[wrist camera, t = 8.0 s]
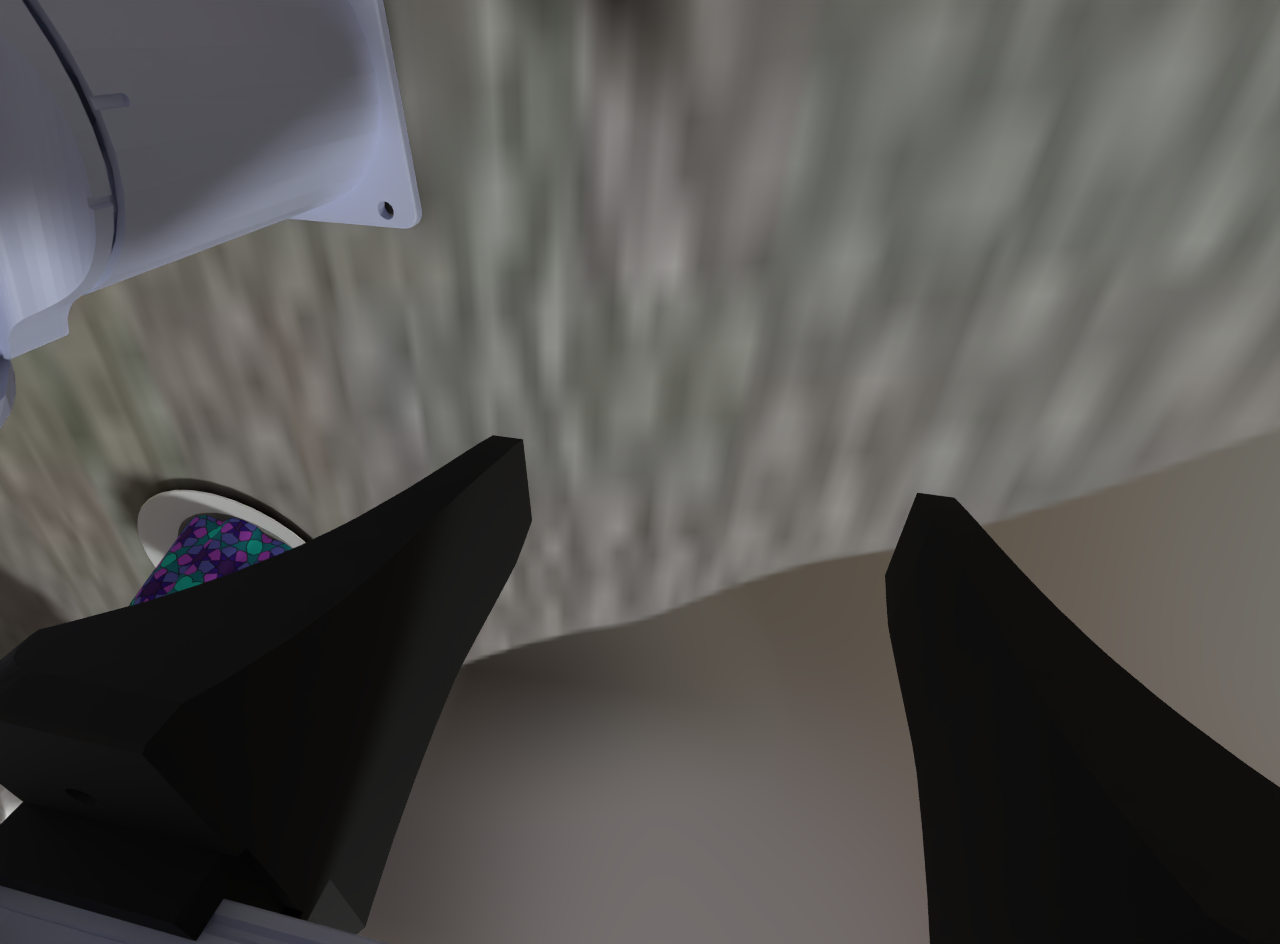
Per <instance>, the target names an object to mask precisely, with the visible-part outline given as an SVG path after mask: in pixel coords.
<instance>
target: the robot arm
mask: <svg viewBox="0 0 1280 944" xmlns="http://www.w3.org/2000/svg"><path fill="white" fill-rule="evenodd" d="M385 202H388V203H389V204H390V205H391V206H392V208H393V210H394V216H391V215H390V214H389V213H388V212H387V211H386V209H385ZM421 217H422V209H421V204H420V198H419V193H418V188H417V182H416V177H415V171H414V166H413V160H412V155H411V150H410V144H409V139H408V133H407V128H406V122H405V117H404V111H403V106H402V101H401V95H400V90H399V84H398V79H397V73H396V68H395V62H394V57H393V52H392V46H391V41H390V35H389V30H388V24H387V19H386V13H385V8H384V3H383V0H0V429H1V427H2V426H3V424H4V423H5V421H6V419H7V418H8V416H9V415H10V412H11V409H12V406H13V402H14V399H15V395H16V384H15V374H14V370H13V367H12V364H11V360H10V359H12V358H14V357H17V356H19V355H22V354H24V353H26V352H29V351H31V350H33V349H36V348H38V347H40V346H43V345H45V344H48V343H50V342H52V341H55V340H57V339H59V338H62V337H64V336H66V335H68V334H69V329H68V313H69V310H70V307H71V305H72V304H73V302H74V301H76V300H77V299H78V298H79V297H80V296H82V295H85V294H88V293H91V292H94V291H96V290H99V289H102V288H104V287H107V286H110V285H112V284H115V283H118V282H120V281H123V280H126V279H128V278H131V277H134V276H136V275H139V274H142V273H144V272H147V271H150V270H152V269H155V268H158V267H160V266H163V265H166V264H168V263H171V262H174V261H176V260H179V259H181V258H184V257H187V256H189V255H192V254H195V253H197V252H200V251H203V250H205V249H208V248H211V247H213V246H216V245H219V244H221V243H224V242H227V241H229V240H232V239H235V238H237V237H240V236H243V235H245V234H248V233H251V232H253V231H256V230H259V229H261V228H264V227H267V226H269V225H272V224H275V223H277V222H280V221H283V220H285V219H299V220H311V221H322V222H334V223H346V224H358V225H370V226H381V227H393V228H411V227H413V226H415V225H416V224H418V223H419V222H420V220H421ZM531 522H532V516H531V507H530V498H529V489H528V480H527V471H526V462H525V453H524V445H523V439H516V438H509V437H501V436H494V435H493V436H491V437H489V438H487V439H486V440H484V441H482V442H481V443H479V444H477V445H476V446H474V447H473V448H471V449H469V450H468V451H466V452H465V453H463V454H462V455H460V456H458V457H457V458H455V459H454V460H452V461H451V462H449V463H448V464H446V465H444V466H443V467H441V468H440V469H438V470H437V471H435V472H433V473H432V474H430V475H429V476H427V477H425V478H424V479H422V480H421V481H419V482H417V483H416V484H414V485H413V486H411V487H410V488H408V489H406V490H404V491H403V492H401V493H399V494H397V495H396V496H394V497H392V498H390V499H389V500H387V501H385V502H383V503H382V504H380V505H378V506H376V507H375V508H373V509H371V510H369V511H368V512H366V513H364V514H362V515H361V516H359V517H357V518H355V519H353V520H351V521H349V522H348V523H346V524H344V525H342V526H340V527H338V528H336V529H334V530H332V531H330V532H327V533H325V534H323V535H321V536H319V537H317V538H315V539H312V540H310V541H308V542H306V543H304V544H302V545H300V546H297V547H295V548H293V549H290V550H288V551H286V552H283V553H281V554H278V555H276V556H273V557H270V558H268V559H265V560H263V561H260V562H258V563H255V564H253V565H250V566H248V567H245V568H243V569H240V570H238V571H235V572H233V573H230V574H227V575H225V576H222V577H219V578H216V579H213V580H210V581H207V582H205V583H202V584H199V585H196V586H193V587H190V588H187V589H184V590H181V591H177V592H174V593H171V594H168V595H165V596H162V597H158V598H155V599H152V600H149V601H145V602H142V603H138V604H135V605H132V606H128V607H124V608H121V609H117V610H113V611H109V612H106V613H102V614H98V615H94V616H90V617H87V618H83V619H79V620H75V621H72V622H68V623H64V624H60V625H56V626H52V627H48V628H44V629H40V630H38V631H36V632H35V633H33V634H32V635H31V636H29V637H28V638H27V639H26V640H24V641H23V642H22V643H21V644H19V645H18V646H17V647H16V648H15V649H13V650H12V651H11V652H10V653H8V654H7V655H6V656H5V657H4V658H2V659H1V660H0V784H1V785H2V786H3V787H5V788H6V789H7V790H8V791H10V792H11V793H12V794H13V795H15V796H16V797H17V798H19V799H20V800H21V801H23V802H22V803H21V804H20V805H19V806H18V807H17V808H16V809H15V810H14V811H13V812H12V813H11V814H10V815H9V816H8V817H7V818H6V819H5V820H4V821H3V822H2V823H0V944H389V943H386V942H382V941H378V940H375V939H371V938H367V937H363V936H360V935H356V934H357V933H359V932H360V931H361V930H362V929H363V928H365V926H366V923H367V919H368V916H369V913H370V910H371V907H372V903H373V900H374V897H375V894H376V891H377V888H378V885H379V882H380V879H381V876H382V873H383V870H384V867H385V864H386V861H387V858H388V855H389V852H390V849H391V845H392V842H393V839H394V836H395V834H396V831H397V828H398V825H399V823H400V820H401V817H402V814H403V811H404V808H405V806H406V803H407V800H408V797H409V794H410V792H411V789H412V786H413V783H414V780H415V778H416V775H417V772H418V770H419V767H420V765H421V762H422V760H423V757H424V754H425V752H426V749H427V747H428V744H429V742H430V739H431V736H432V734H433V731H434V729H435V726H436V724H437V721H438V719H439V717H440V714H441V712H442V709H443V707H444V704H445V702H446V700H447V697H448V694H449V692H450V690H451V688H452V685H453V683H454V680H455V678H456V676H457V674H458V672H459V670H460V668H461V666H462V664H463V662H464V660H465V658H466V656H467V654H468V652H469V650H470V649H471V647H472V645H473V643H474V641H475V639H476V637H477V636H478V634H479V632H480V630H481V628H482V626H483V625H484V623H485V621H486V619H487V617H488V615H489V613H490V612H491V610H492V608H493V606H494V604H495V602H496V601H497V599H498V597H499V595H500V593H501V591H502V589H503V587H504V586H505V584H506V582H507V580H508V578H509V576H510V574H511V572H512V570H513V568H514V567H515V565H516V562H517V560H518V557H519V554H520V552H521V549H522V547H523V544H524V541H525V539H526V536H527V533H528V530H529V527H530V525H531ZM885 582H886V602H887V615H888V627H889V633H890V638H891V643H892V648H893V653H894V658H895V663H896V668H897V673H898V678H899V683H900V688H901V692H902V697H903V702H904V706H905V712H906V716H907V722H908V726H909V731H910V736H911V741H912V746H913V752H914V758H915V765H916V771H917V780H918V790H919V800H920V811H921V821H922V830H923V845H924V856H925V871H926V883H927V897H928V915H929V934H930V944H1280V787H1278V786H1277V785H1276V784H1274V783H1273V782H1271V781H1270V780H1268V779H1267V778H1265V777H1264V776H1263V775H1261V774H1260V773H1258V772H1257V771H1255V770H1254V769H1253V768H1251V767H1250V766H1248V765H1247V764H1245V763H1244V762H1243V761H1241V760H1240V759H1239V758H1237V757H1236V756H1234V755H1233V754H1232V753H1231V752H1229V751H1228V750H1226V749H1225V748H1224V747H1222V746H1221V745H1220V744H1218V743H1217V742H1216V741H1214V740H1213V739H1212V738H1210V737H1209V736H1208V735H1206V734H1205V733H1204V732H1202V731H1201V730H1200V729H1198V728H1197V727H1195V726H1194V725H1193V724H1191V723H1190V722H1189V721H1187V720H1186V719H1185V718H1184V717H1182V716H1181V715H1180V714H1178V713H1177V712H1176V711H1175V710H1173V709H1172V708H1171V707H1170V706H1168V705H1167V704H1166V703H1164V702H1163V701H1162V700H1161V699H1159V698H1158V697H1157V696H1156V695H1155V694H1153V693H1152V692H1151V691H1150V690H1149V689H1147V688H1146V687H1145V686H1144V685H1143V684H1141V683H1140V682H1139V681H1138V680H1137V679H1135V678H1134V677H1133V676H1132V675H1131V674H1129V673H1128V672H1127V671H1126V670H1125V669H1124V668H1122V667H1121V666H1120V665H1119V664H1118V663H1116V662H1115V661H1114V660H1113V659H1112V658H1111V657H1109V656H1108V655H1107V654H1106V653H1105V652H1104V651H1103V650H1102V649H1101V648H1099V647H1098V646H1097V645H1096V644H1095V643H1094V642H1093V641H1091V639H1090V638H1088V637H1087V636H1086V635H1085V634H1084V633H1083V632H1082V631H1081V630H1080V629H1079V628H1078V627H1077V626H1076V625H1075V624H1074V623H1073V622H1072V621H1071V620H1070V619H1068V617H1067V616H1065V615H1064V614H1063V613H1062V612H1061V611H1060V610H1059V609H1058V608H1057V607H1056V606H1055V605H1054V604H1053V603H1052V602H1051V601H1050V600H1049V599H1048V598H1047V597H1046V596H1045V595H1044V594H1043V593H1042V592H1041V591H1040V590H1039V589H1038V588H1037V587H1036V585H1035V584H1033V582H1031V580H1030V579H1029V578H1028V577H1027V576H1026V575H1025V574H1024V573H1023V572H1022V571H1021V570H1020V569H1019V568H1018V567H1017V565H1016V564H1015V563H1014V562H1013V561H1012V560H1011V559H1010V558H1009V557H1008V556H1007V555H1006V553H1005V552H1004V551H1003V550H1002V549H1001V548H1000V547H999V546H998V545H997V544H996V543H995V541H994V540H993V539H992V538H991V537H990V536H989V535H988V534H987V532H986V531H985V530H984V529H983V528H982V527H981V526H980V525H979V524H978V522H977V521H976V520H975V519H974V518H973V517H972V516H971V515H970V514H969V513H968V511H967V510H966V509H965V508H964V507H963V506H962V505H961V504H960V503H959V502H958V501H957V500H956V499H955V498H952V497H945V496H937V495H930V494H923V493H917V495H916V497H915V500H914V502H913V505H912V508H911V510H910V513H909V515H908V518H907V520H906V523H905V525H904V528H903V531H902V533H901V536H900V538H899V541H898V543H897V546H896V549H895V551H894V554H893V556H892V559H891V561H890V564H889V567H888V569H887V572H886V574H885Z"/></svg>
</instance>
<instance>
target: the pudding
mask: <svg viewBox="0 0 1280 944" xmlns="http://www.w3.org/2000/svg"><path fill="white" fill-rule="evenodd" d="M200 513H220V514H226V515H231V516H235V517H238V518H241V519H244V520H247V521H249V522H252V523H254V524H256V525H259V526H260V527H262V528H264V529H266V530H268V531H270V532H272V533H273V534H275V535H276V536H278V537H279V538H281V539H283V540H284V541H285V542H287V543H288V544H289V545H291V546H292V547H293V548H295V547H297V546H300V545H302V544H304V543H306V542H305V541H303V540H302V539H301V538H300V537H299V536H297V535H296V534H295V533H294V532H292V531H291V530H289V529H288V528H286V527H284V526H283V525H281V524H280V523H278V522H277V521H275V520H274V519H272V518H270V517H268V516H266V515H265V514H263V513H261V512H259V511H257V510H255V509H253V508H251V507H249V506H246V505H244V504H242V503H239V502H237V501H234V500H232V499H229V498H225V497H222V496H218V495H215V494H212V493H206V492H200V491H194V490H172V491H167V492H162V493H159V494H157V495H155V496H153V497H151V498H149V499H148V500H147V501H146V502H145V503H144V504H143V506H142V507H141V510H140V512H139V515H138V527H137V528H138V532H139V536H140V541H141V543H142V545H143V547H144V549H145V551H146V554H147V555H148V557H149V558H150V560H151V561H152V563H153V564H154V566H155V567H156V568H155V570H154V571H153V572H152V574H151V575H150V577H149V578H148V579H147V581H146V582H145V584H144V585H143V586H142V588H141V589H140V591H139V592H138V593H137V595H136V596H135V597H134V599H133V600H132V602H131V603H130V605H129V606H132V605H135V604H138V603H142V602H145V601H149V600H152V599H155V598H158V597H162V596H165V595H168V594H171V593H174V592H177V591H181V590H184V589H187V588H190V587H193V586H196V585H199V584H202V583H205V582H207V581H210V580H213V579H216V578H219V577H222V576H225V575H227V574H230V573H233V572H235V571H238V570H240V569H243V568H245V567H248V566H250V565H253V564H255V563H258V562H260V561H263V560H265V559H268V558H270V557H273V556H276V555H278V554H281V553H283V552H286V551H288V550H290V549H292V548H291V547H289V546H288V545H286V544H285V543H283V542H280V541H276V540H272V539H269V538H268V537H267V536H266V535H265V534H264V533H263V532H262V531H261V530H260V529H259V528H258V527H256V526H254V525H252V524H250V523H248V522H246V521H244V520H239V519H235V518H229V519H227V520H225V521H223V522H221V521H219V520H217V519H215V518H212V517H210V516H208V515H202V516H196V517H194V518H193V519H192V520H190V522H189V523H188V524H187V526H186V527H185V529H184V530H183V531H182V532H181V534H180V535H179V536H178V530H179V528H180V526H181V524H182V522H183V521H185V520H186V519H187V518H188V517H191V516H193V515H195V514H200Z"/></svg>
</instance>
